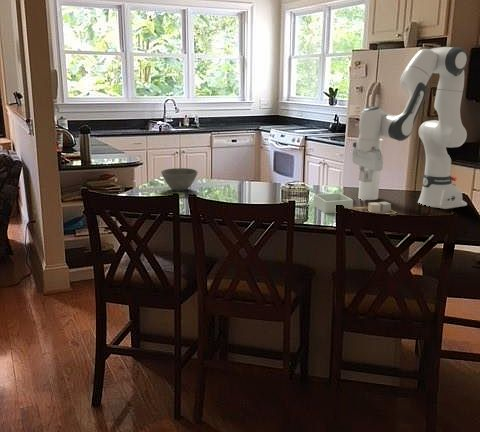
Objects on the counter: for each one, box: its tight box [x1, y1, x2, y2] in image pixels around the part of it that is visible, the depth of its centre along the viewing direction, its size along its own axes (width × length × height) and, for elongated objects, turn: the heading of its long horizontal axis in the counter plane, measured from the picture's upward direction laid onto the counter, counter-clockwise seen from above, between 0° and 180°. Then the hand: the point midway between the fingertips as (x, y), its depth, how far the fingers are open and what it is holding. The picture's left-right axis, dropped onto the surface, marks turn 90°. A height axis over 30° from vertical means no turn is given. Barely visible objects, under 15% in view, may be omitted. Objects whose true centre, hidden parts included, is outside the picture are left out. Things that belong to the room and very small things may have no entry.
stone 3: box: [377, 201, 392, 212], centre depth 230 cm, size 4×4×4 cm
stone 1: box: [358, 170, 373, 182], centre depth 224 cm, size 4×4×4 cm
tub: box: [312, 192, 354, 214], centre depth 235 cm, size 13×13×6 cm
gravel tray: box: [353, 206, 398, 214], centre depth 229 cm, size 16×12×2 cm
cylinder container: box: [357, 138, 384, 201], centre depth 251 cm, size 9×9×30 cm
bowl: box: [160, 167, 199, 192], centre depth 269 cm, size 19×19×10 cm
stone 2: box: [367, 201, 381, 212], centre depth 229 cm, size 4×4×4 cm
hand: (365, 177), depth 224 cm, fingers closed on stone 1, 4 cm apart
